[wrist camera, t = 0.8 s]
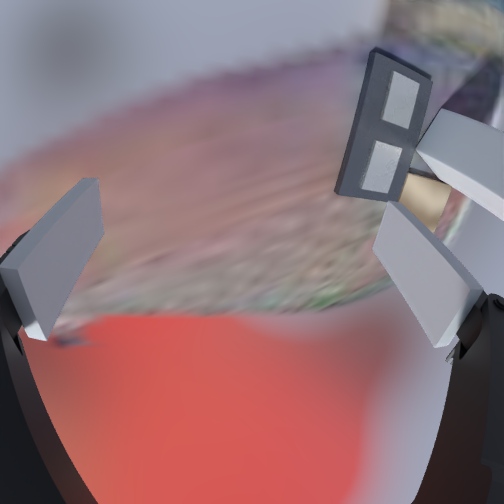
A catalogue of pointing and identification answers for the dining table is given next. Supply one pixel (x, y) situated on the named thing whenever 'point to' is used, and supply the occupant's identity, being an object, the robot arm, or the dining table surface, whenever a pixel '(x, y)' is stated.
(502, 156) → the milk carton
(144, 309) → the dining table surface
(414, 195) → the coaster
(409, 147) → the label panel
